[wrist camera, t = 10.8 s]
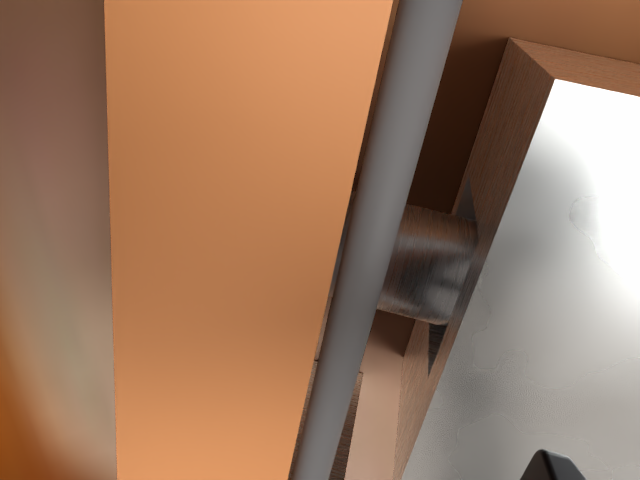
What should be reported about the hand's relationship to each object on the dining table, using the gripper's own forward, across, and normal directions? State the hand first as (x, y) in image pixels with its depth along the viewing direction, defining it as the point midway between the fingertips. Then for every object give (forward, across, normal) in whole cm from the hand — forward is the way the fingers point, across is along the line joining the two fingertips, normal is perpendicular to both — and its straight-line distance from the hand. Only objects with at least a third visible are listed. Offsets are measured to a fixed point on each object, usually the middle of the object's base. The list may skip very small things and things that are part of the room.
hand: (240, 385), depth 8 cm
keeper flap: (+3, +1, 0) cm, 3 cm away
